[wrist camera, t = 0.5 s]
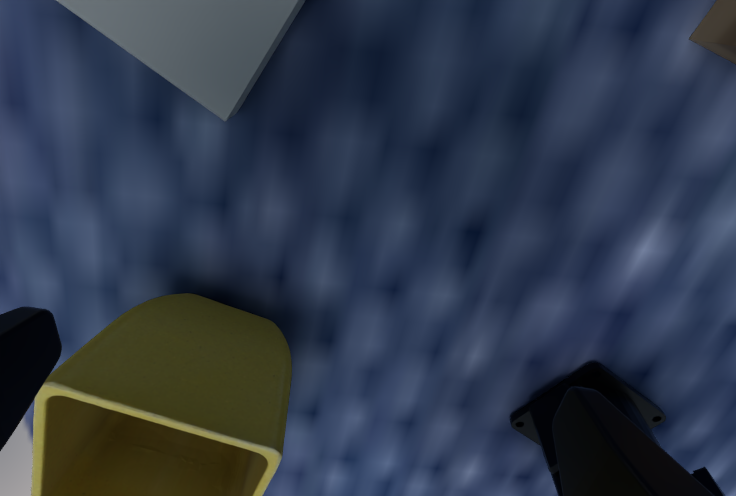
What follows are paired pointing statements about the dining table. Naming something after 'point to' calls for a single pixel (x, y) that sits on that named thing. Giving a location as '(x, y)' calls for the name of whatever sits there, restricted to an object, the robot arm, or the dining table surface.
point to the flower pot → (166, 405)
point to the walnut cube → (719, 30)
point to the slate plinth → (196, 41)
